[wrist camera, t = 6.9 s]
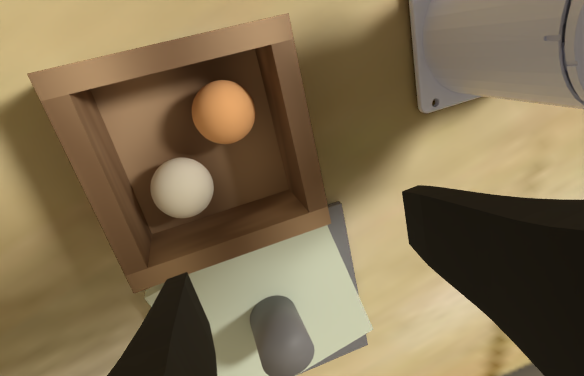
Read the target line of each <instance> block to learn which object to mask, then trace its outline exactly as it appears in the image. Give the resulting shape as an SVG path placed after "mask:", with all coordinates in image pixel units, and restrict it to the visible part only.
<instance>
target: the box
mask: <svg viewBox="0 0 584 376" xmlns="http://www.w3.org/2000/svg"><path fill="white" fill-rule="evenodd" d="M27 75H28V77H29V79H30V81H31V83H32V85H33V87H34V89H35V91H36V93H37V95H38V97H39V99H40V101H41V104H42V106H43V108H44V110H45V112H46V114H47V116H48V118H49V120H50V122H51V124H52V126H53V128H54V130H55V132H56V134H57V136H58V139H59V141H60V143H61V145H62V147H63V149H64V151H65V153H66V155H67V157H68V159H69V161H70V163H71V165H72V167H73V169H74V171H75V174H76V176H77V178H78V180H79V182H80V184H81V186H82V188H83V190H84V192H85V194H86V196H87V198H88V200H89V202H90V204H91V206H92V209H93V211H94V213H95V215H96V217H97V219H98V221H99V223H100V225H101V227H102V229H103V231H104V233H105V235H106V237H107V239H108V241H109V244H110V246H111V248H112V250H113V252H114V254H115V256H116V258H117V260H118V262H119V264H120V266H121V268H122V270H123V272H124V274H125V276H126V279H127V281H128V283H129V285H130V287H131V289H132V291H133V293H136V292H139V291H142V290H145V289H148V288H151V287H153V286H156V285H159V284H162V283H165V281H166V280H167V279H169V278H172V277H174V276H177V275H180V274H182V273H185V272H187V273H188V274H190V273H193V272H196V271H199V270H201V269H204V268H207V267H210V266H213V265H216V264H218V263H221V262H224V261H227V260H230V259H233V258H235V257H238V256H241V255H244V254H247V253H249V252H252V251H255V250H258V249H261V248H264V247H266V246H269V245H272V244H275V243H278V242H281V241H283V240H286V239H289V238H292V237H295V236H298V235H300V234H303V233H306V232H309V231H312V230H315V229H317V228H320V227H323V226H326V225H329V224H331V220H330V215H329V210H328V205H327V200H326V195H325V190H324V185H323V180H322V175H321V170H320V166H319V161H318V156H317V151H316V146H315V141H314V136H313V131H312V126H311V121H310V116H309V111H308V107H307V102H306V97H305V92H304V87H303V82H302V77H301V72H300V67H299V62H298V57H297V52H296V48H295V43H294V38H293V33H292V28H291V23H290V18H289V13H287V14H283V15H278V16H274V17H270V18H265V19H261V20H257V21H252V22H248V23H244V24H239V25H235V26H231V27H227V28H222V29H218V30H214V31H209V32H205V33H201V34H196V35H192V36H188V37H183V38H179V39H175V40H170V41H166V42H162V43H158V44H153V45H149V46H145V47H140V48H136V49H132V50H127V51H123V52H119V53H114V54H110V55H106V56H101V57H97V58H93V59H89V60H84V61H80V62H76V63H71V64H67V65H63V66H58V67H54V68H50V69H45V70H41V71H37V72H32V73H28V74H27ZM217 80H228V81H232V82H235V83H237V84H239V85H240V86H242V87H243V88H244V89H245V90H246V91H247V92H248V93H249V94H250V96H251V98H252V100H253V102H254V105H255V121H254V124H253V127H252V129H251V130H250V132H249V133H248V134H247V135H246V136H245V137H244V138H243V139H241V140H239V141H237V142H235V143H231V144H219V143H215V142H212V141H210V140H208V139H206V138H205V137H204V136H203V135H202V134H201V133H200V132H199V131H198V130H197V128H196V126H195V124H194V122H193V118H192V104H193V100H194V98H195V96H196V94H197V93H198V91H199V90H200V89H201V88H202V87H203V86H205V85H206V84H208V83H210V82H213V81H217ZM174 158H190V159H193V160H195V161H197V162H199V163H201V164H202V165H203V166H204V167H205V168H206V169H207V170H208V171H209V173H210V175H211V177H212V180H213V185H214V191H213V196H212V199H211V201H210V203H209V205H208V206H207V207H206V208H205V209H204V210H203V211H202V212H201V213H199V214H197V215H195V216H193V217H189V218H175V217H171V216H169V215H167V214H165V213H164V212H162V211H161V210H160V209H159V208H158V207H157V206H156V204H155V203H154V201H153V199H152V196H151V190H150V185H151V180H152V177H153V175H154V173H155V171H156V170H157V169H158V168H159V167H160V166H161V165H162V164H163V163H165V162H167V161H169V160H171V159H174Z"/></svg>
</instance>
